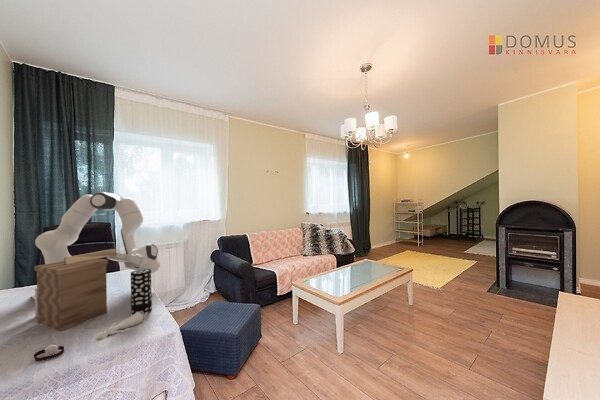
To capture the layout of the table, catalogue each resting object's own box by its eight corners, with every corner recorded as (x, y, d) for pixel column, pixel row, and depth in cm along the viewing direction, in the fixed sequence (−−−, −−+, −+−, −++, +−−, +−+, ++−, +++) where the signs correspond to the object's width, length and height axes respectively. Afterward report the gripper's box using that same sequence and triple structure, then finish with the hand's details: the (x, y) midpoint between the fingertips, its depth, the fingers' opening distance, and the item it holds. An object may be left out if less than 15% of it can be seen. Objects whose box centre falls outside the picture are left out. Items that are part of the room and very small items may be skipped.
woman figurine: (152, 311, 105) (104, 335, 89) (153, 321, 105) (105, 347, 89) (137, 307, 110) (89, 328, 94) (138, 316, 110) (90, 339, 94)
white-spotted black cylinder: (155, 309, 116) (154, 269, 116) (137, 317, 109) (137, 274, 109) (145, 306, 120) (144, 268, 120) (127, 314, 112) (126, 272, 112)
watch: (67, 350, 85) (67, 340, 85) (60, 358, 81) (60, 347, 81) (38, 356, 82) (38, 346, 82) (29, 364, 78) (29, 353, 78)
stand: (35, 323, 104) (34, 266, 104) (84, 306, 121) (83, 256, 121) (60, 332, 97) (59, 270, 97) (108, 312, 114) (107, 259, 114)
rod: (64, 264, 107) (64, 257, 107) (112, 254, 126) (112, 248, 126) (67, 264, 106) (67, 258, 106) (115, 254, 125) (115, 249, 125)
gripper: (124, 254, 140) (101, 246, 129) (148, 257, 133) (126, 249, 122) (119, 265, 137) (95, 258, 126) (142, 268, 130) (119, 261, 119)
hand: (110, 253), depth 124 cm, fingers open, 8 cm apart
